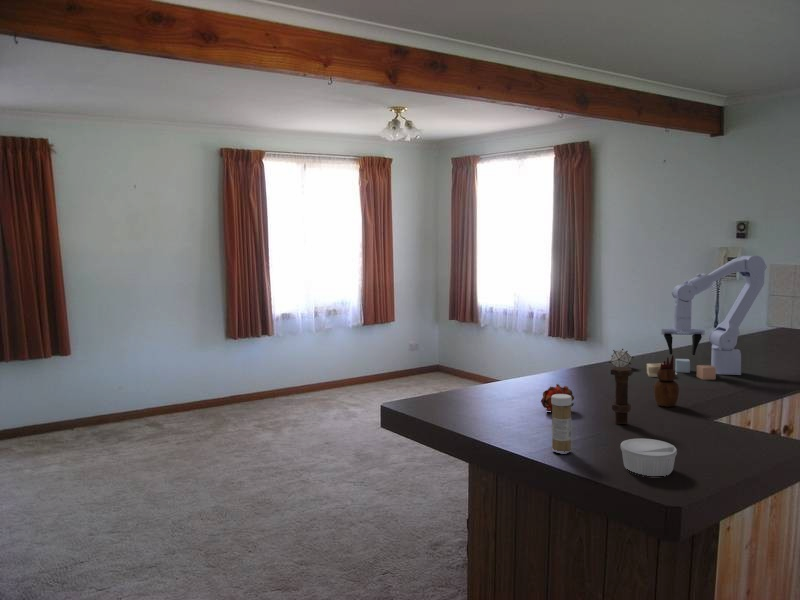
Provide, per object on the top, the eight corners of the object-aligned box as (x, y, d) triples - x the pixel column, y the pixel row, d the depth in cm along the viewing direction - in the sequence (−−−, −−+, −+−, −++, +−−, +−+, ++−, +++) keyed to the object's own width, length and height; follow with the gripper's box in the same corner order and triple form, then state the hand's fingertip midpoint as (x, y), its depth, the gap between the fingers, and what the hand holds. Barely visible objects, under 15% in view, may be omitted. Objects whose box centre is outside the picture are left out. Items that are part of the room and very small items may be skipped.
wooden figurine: (677, 404, 186) (678, 354, 185) (679, 408, 181) (680, 357, 180) (653, 402, 189) (653, 353, 187) (654, 407, 183) (654, 356, 182)
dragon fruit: (574, 413, 184) (547, 427, 177) (554, 393, 189) (527, 405, 182) (586, 394, 179) (558, 407, 172) (565, 374, 184) (537, 386, 177)
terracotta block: (709, 378, 220) (709, 364, 219) (715, 381, 215) (715, 367, 215) (696, 379, 220) (696, 365, 219) (702, 381, 215) (702, 367, 215)
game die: (626, 380, 237) (639, 361, 231) (605, 372, 237) (617, 354, 231) (624, 365, 244) (636, 346, 238) (603, 357, 244) (615, 339, 238)
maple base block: (667, 372, 227) (667, 363, 226) (670, 376, 220) (669, 366, 220) (646, 373, 228) (646, 363, 228) (649, 376, 222) (648, 367, 222)
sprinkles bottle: (557, 447, 149) (557, 392, 148) (575, 451, 146) (575, 395, 145) (547, 452, 145) (547, 396, 144) (565, 456, 142) (565, 398, 141)
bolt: (628, 427, 164) (629, 371, 162) (609, 425, 166) (609, 369, 165) (633, 422, 169) (633, 367, 167) (614, 419, 171) (614, 365, 170)
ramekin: (665, 484, 125) (666, 458, 125) (611, 471, 133) (611, 447, 132) (684, 468, 133) (684, 444, 133) (632, 457, 141) (632, 435, 140)
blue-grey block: (688, 372, 231) (688, 359, 231) (689, 374, 227) (689, 361, 227) (675, 371, 233) (675, 358, 232) (676, 374, 228) (676, 360, 228)
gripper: (662, 318, 226) (662, 355, 227) (706, 318, 222) (705, 356, 223) (660, 316, 233) (659, 352, 234) (702, 316, 229) (702, 353, 230)
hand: (682, 354), depth 229 cm, fingers open, 7 cm apart
